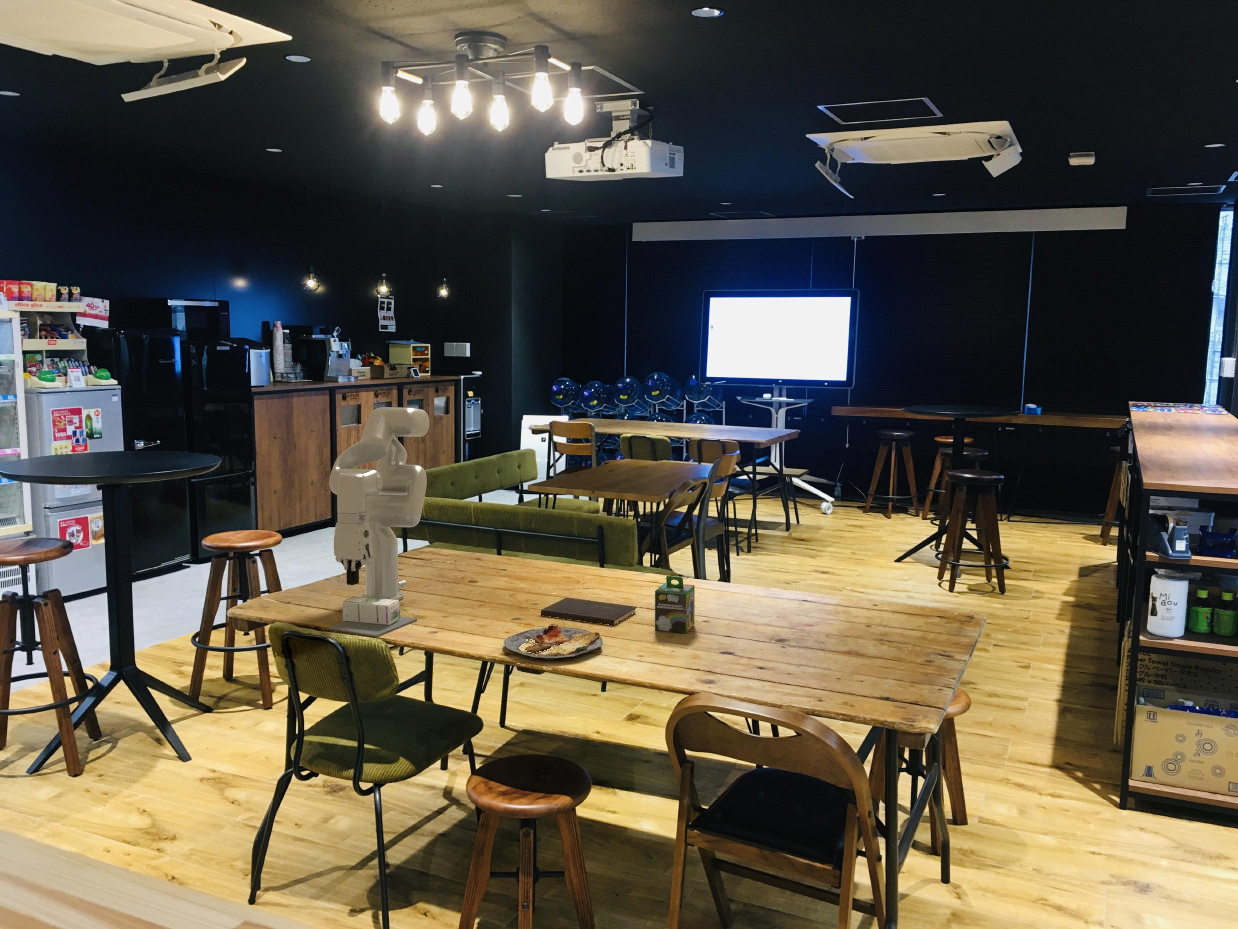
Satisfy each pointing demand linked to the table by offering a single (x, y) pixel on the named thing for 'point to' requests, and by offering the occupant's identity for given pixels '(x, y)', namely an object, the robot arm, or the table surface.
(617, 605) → the hardcover book
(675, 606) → the chalk box
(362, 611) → the syrup box
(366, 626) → the rubber mat
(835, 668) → the table surface
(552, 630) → the food plate
